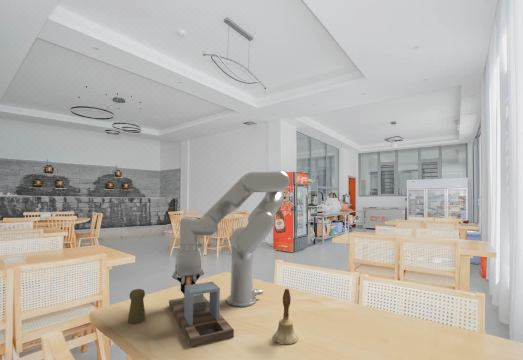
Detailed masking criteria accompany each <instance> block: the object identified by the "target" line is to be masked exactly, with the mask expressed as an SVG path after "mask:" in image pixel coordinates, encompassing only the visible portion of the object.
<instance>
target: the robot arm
mask: <svg viewBox="0 0 523 360" xmlns="http://www.w3.org/2000/svg"><path fill="white" fill-rule="evenodd" d="M290 182H291V180H290V177H289V175H288V174H287V173H286V172H285V171H252V172H247V173H245V174H244V175H243V176H241V177H240V178H239V179H238V180H237V182H236V183H234V184H233V185H232V186H231V187H230V189H229V190H228V191H226V193H225V194H223V196H221V197H220V198H219V200H217V202H215V204H213V206H211V207H210V208H209V209H208V210H207V211H206V213H204V214H203V215H202V216H201V218H197V217H192V216H191V217H190V216H189V217H187V216H186V217H183V218H181V219H180V221H179V250H177V252H176V256H175V265H174V272H173V274H172V275H171V277H172V279H174V280H176V281H178V282H179V283H180V292H181V293H182V294H183V295H184V294H185V282H184V281H185V276H190V275H192V284H197V282H198V280H199V278H201V277H202V276H203V275H204V274H205V272H204V270H203V268H202V258H201V250H200V249H199V248H202V246H203V245H202V243H199V236H205V237H210V236H213V235H215V234H216V233H217V232H218V229H219V228H218V224H220V223H221V221H223V219H225V218H226V217H227V216H228V215H230V214H232V213H234V212H235V211H237V210H239V209H240V207H242V205H244V203H245V202H246V201H247V200H248V199H249V198H250V197H251V196H252V195H253V194H254V193H265V195H264V196H263V198H262V200H261V201H260V202H259V203H258V204H257V205H256V206H255V208H254V209H253V210H252V211H251V213H249V215H248V217H247V222H248V223H247V224H246V225H245V227H244V226H243V227H242V226H241V227H238V228H236V229H234V231H233V232H232V233H231V237H230V252H231V253H230V254H231V258H230V261H231V262H230V295H229V296H227V298H226V303H227V304H228V305H231V306H233V307H249V306H251V305H254V304H255V303H256V302H257V297H256V296H260V295H263V294H264V293H263V289H254V288H253V285H254V252H255V251H257V249H258V248H259V247H260V246H261V244H262V243H263V242H264V241H265V240H266V238H267V237H268V236H269V235H270V234H271V232H272V231H273V229H274V227H275V215H276V214H277V212H278V211H279V210H280V208H281V207H282V205H283V203H284V200H285V199H284V198H285V190H286V189H288V188H289V186H290V184H291V183H290Z"/></svg>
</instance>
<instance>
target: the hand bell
mask: <svg viewBox="0 0 523 360" xmlns="http://www.w3.org/2000/svg"><path fill="white" fill-rule="evenodd" d="M291 299H292V298H291V294H290V289H289V288H284V291H283V295H282V306H283V316H282V319H280V320H279V321H278V327H277V330H276V331H275V332H274V334H273V335H272V340H273V341H274V340H275V341H274V342H275V343H277V342H278V344H280V343H282V344H281V345H285V344H289V345H293V344H292V343H294V344H296V343H297V342H298V341H299V336H298V335H297V334H296V333H295V331H294V326H293V325H294V323H293V321H292V320H291V319H289V315H290V313H289V311H290V310H289V308H290V305H291ZM297 340H298V341H297ZM296 341H297V342H296ZM295 342H296V343H295Z"/></svg>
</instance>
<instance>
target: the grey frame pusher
mask: <svg viewBox="0 0 523 360" xmlns="http://www.w3.org/2000/svg"><path fill="white" fill-rule="evenodd" d="M184 282H185V285H192V275H190V276H185V281H184ZM184 297H185V294H183V297H182V298H183V300H182V306H183V307H184ZM206 309H207V301H206V300H205V299H204V298H203V302H197V303H193V312H195V311H201V310H206Z"/></svg>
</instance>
